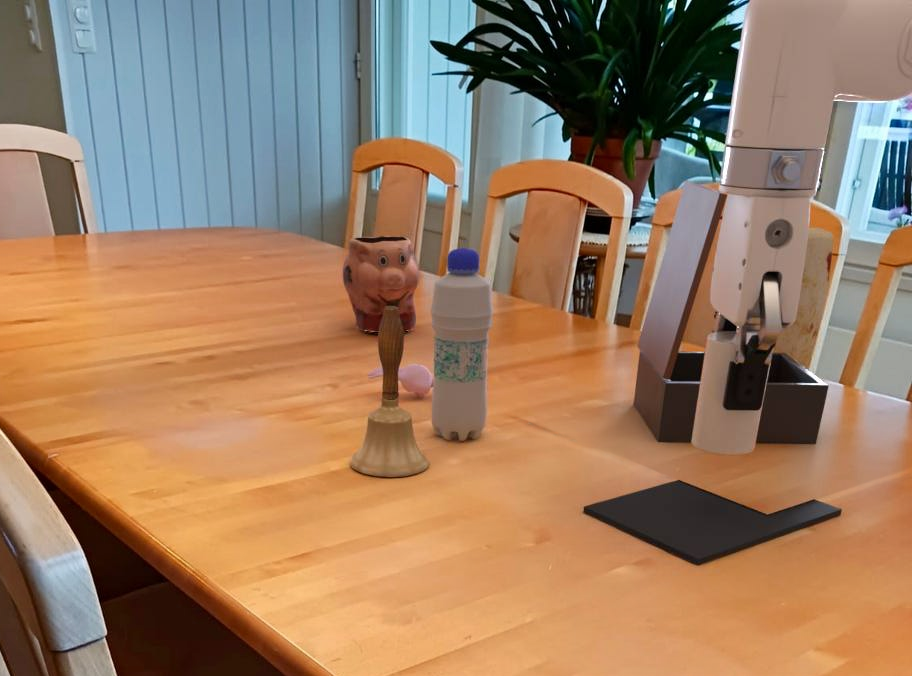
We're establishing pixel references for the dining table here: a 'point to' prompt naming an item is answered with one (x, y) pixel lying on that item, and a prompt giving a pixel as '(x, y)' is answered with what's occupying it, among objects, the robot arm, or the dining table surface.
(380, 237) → the decorative planter
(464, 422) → the bottle
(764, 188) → the robot arm
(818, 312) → the food model
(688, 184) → the open box lid
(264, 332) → the dining table surface
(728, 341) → the tall white cylinder
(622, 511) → the mat
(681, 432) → the hinged jewelry box
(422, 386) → the rabbit figure
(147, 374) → the dining table surface
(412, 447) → the hand bell
